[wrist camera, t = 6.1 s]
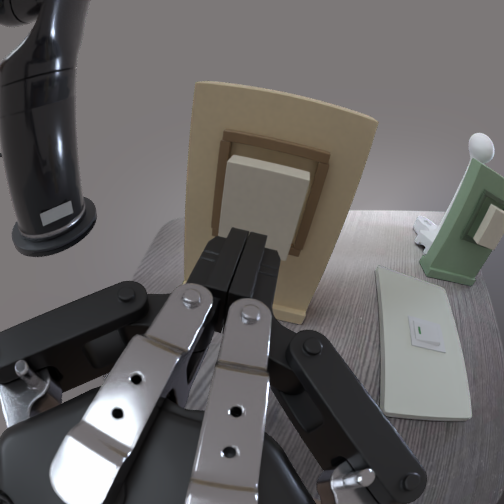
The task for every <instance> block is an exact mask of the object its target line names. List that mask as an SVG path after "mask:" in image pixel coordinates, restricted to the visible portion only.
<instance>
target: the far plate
mask: <svg viewBox="0 0 504 504" xmlns="http://www.w3.org/2000/svg"><path fill="white" fill-rule="evenodd" d="M491 204H492V205H494V206H496V207H498V208H499V209H501V210H503V211H504V177H502V176H501V175H499V174H498V173H496V172H495V171H493V170H492V169H490V168H489V167H487V166H486V165H484V164H483V163H481V162H479V161H478V160H476V159H474V158H472V160H471V163H470V165H469V168H468V170H467V173H466V175H465V178H464V180H463V182H462V185H461V187H460V189H459V192H458V194H457V196H456V198H455V200H454V202H453V205H452V207H451V209H450V211H449V213H448V215H447V217H446V219H445V221H444V223H443V225H442V227H441V229H440V230H439V232H438V234H437V236H436V238H435V240H434V241H433V243H432V245H431V247H430V249H429V250H428V252H427V254H426V255H423V256H422V258H421V259H420V261H419V262H420V264H421V266H422V268H423V270H424V272H425V274H426V276H427V277H432V278H437V279H441V280H446V281H451V282H455V283H460V284H464V285H469V286H472V285H473V284H474V282H475V281H476V280H475V276H476V275H477V273H478V272H479V270H480V269H481V267H482V266H483V264H484V263H485V261H486V260H487V258H488V256H489V255H490V253H491V252H492V249H489V248H487V247H484V246H481V245H479V244H477V243H476V242H475V240H474V239H473V237H474V236H475V234H476V232H477V230H478V228H479V226H480V225H481V223H482V221H483V219H484V217H485V215H486V213H487V211H488V209H489V207H490V205H491Z"/></svg>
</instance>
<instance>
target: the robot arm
mask: <svg viewBox="0 0 504 504" xmlns="http://www.w3.org/2000/svg"><path fill="white" fill-rule="evenodd" d="M90 1H91V0H0V24H1V25H3V26H7V27H19V26H23V25H26V24H29V23H32V22H35V21H36V23H35V25H34V27H33V29H32V30H31V31H30V33H29V34H28V35H27V36H26V38H25V39H24V40H23V41H22V42H21V43H20V44H19V45H18V46H17V47H16V48H15V49H14V50H13V51H12V52H11V53H10V54H8V55H7V56H6V57H5V58H4V59H3V60H2V61H1V63H0V144H1V152H2V153H0V157H2V158H3V164H4V169H5V174H6V179H7V184H8V188H9V193H10V196H11V201H12V205H13V208H14V212H15V215H16V219H17V222H18V228H19V231H20V234H21V236H22V237H23V238H24V239H25V240H27V241H31V242H44V241H49V240H52V239H55V238H58V237H60V236H62V235H64V234H66V233H68V232H70V231H71V230H73V229H74V228H75V227H76V226H77V225H79V223H80V222H81V221H82V220H83V218H84V217H85V214H86V207H85V201H84V199H83V193H82V186H81V178H80V168H79V159H78V148H77V132H76V67H77V58H78V53H79V49H80V46H81V43H82V38H83V33H84V27H85V22H86V16H87V12H88V8H89V5H90ZM266 241H267V235H263V234H259V233H255V232H250V234H249V231H247V230H243V229H238V228H234V227H232V228H231V230H230V232H229V234H228V236H227V238H224V237H220V236H216V237H214V238H213V239H211V240H210V241H208V243H207V245H206V247H205V248H204V251H203V252H202V254H201V256H200V258H199V259H198V261H197V263H196V265H195V267H194V269H193V271H192V272H191V274H190V276H189V278H188V280H187V282H186V283H185V284H183V285H180V286H178V287H177V288H176V289H174V291H173V292H172V293H170V294H147V292H146V289H145V288H144V287H143V286H142V285H141V284H139V283H137V282H134V281H124V282H121V283H118V284H115V285H113V286H110V287H108V288H105V289H103V290H100V291H98V292H95V293H93V294H91V295H88V296H85V297H83V298H81V299H78V300H75V301H73V302H71V303H68V304H66V305H63V306H61V307H59V308H56V309H54V310H51V311H49V312H46V313H44V314H42V315H39V316H37V317H35V318H32V319H30V320H28V321H25V322H23V323H20V324H18V325H16V326H14V327H11V328H9V329H7V330H4V331H2V332H0V402H1V407H2V410H3V414H4V418H5V421H6V424H7V429H6V430H5V431H4V432H3V433H2V435H1V437H0V504H316V503H315V501H314V500H313V498H312V497H311V495H310V493H309V492H308V490H307V489H306V487H305V486H304V484H303V482H302V481H301V479H300V477H299V476H298V474H297V472H296V471H295V469H294V467H293V466H292V464H291V462H290V461H289V459H288V457H287V456H286V454H285V452H284V451H283V449H282V448H281V447H280V445H279V444H278V443H277V442H276V441H275V440H274V439H273V438H272V437H271V436H269V435H268V434H267V433H265V432H264V430H265V421H266V412H267V402H268V392H269V385H270V386H271V389H272V391H273V393H274V395H275V396H276V398H277V400H278V401H279V403H280V404H281V406H282V408H283V409H284V411H285V413H286V414H287V416H288V417H289V419H290V420H291V422H292V424H293V425H294V427H295V428H296V430H297V431H298V433H299V435H300V436H301V438H302V439H303V441H304V442H305V444H306V445H307V447H308V448H309V450H310V451H311V453H312V454H313V456H314V457H315V459H316V460H317V462H318V463H319V465H320V466H321V468H322V469H323V470H324V471H323V472H322V473H321V474H320V476H319V478H318V480H317V491H318V493H319V495H320V498H321V504H407V503H411V502H413V501H415V500H416V499H417V498H419V497H420V495H421V494H422V493H423V491H424V489H425V487H426V483H427V475H426V472H425V470H424V468H423V467H422V465H421V464H420V462H419V461H418V460H417V458H416V457H415V456H414V454H413V453H412V451H411V450H410V449H409V447H408V446H407V445H406V443H405V442H404V441H403V439H402V438H401V437H400V435H399V434H398V432H397V431H396V430H395V428H394V427H393V426H392V424H391V423H390V422H389V420H388V419H387V418H386V416H385V415H384V414H383V412H382V411H381V410H380V408H379V407H378V405H377V404H376V403H375V401H374V400H373V399H372V397H371V396H370V395H369V393H368V392H367V391H366V389H365V388H364V387H363V385H362V384H361V383H360V381H359V380H358V379H357V377H356V376H355V375H354V373H353V372H352V371H351V369H350V368H349V367H348V365H347V364H346V363H345V361H344V360H343V359H342V357H341V356H340V355H339V353H338V352H337V351H336V349H335V348H334V347H333V345H332V344H331V343H330V341H329V340H328V339H327V338H326V337H325V336H324V335H322V334H321V333H319V332H317V331H313V330H303V331H300V332H298V333H295V332H293V331H291V330H289V329H287V328H286V327H284V326H283V325H281V324H280V323H279V322H278V321H277V319H276V318H275V316H274V314H273V309H272V307H273V301H274V295H275V290H276V284H277V279H278V273H279V267H280V262H281V259H280V256H279V254H278V251H277V250H273V249H269V248H265V245H266ZM223 325H224V327H223ZM222 328H223V337H222V342H221V346H220V351H219V355H218V359H217V362H216V365H215V369H214V373H213V377H212V382H211V386H210V391H209V395H208V400H207V404H206V409H205V411H199V410H187V409H184V408H185V406H186V403H187V400H188V397H189V392H190V389H191V386H192V384H193V382H194V380H195V377H196V375H197V373H198V371H199V369H200V366H201V364H202V362H203V360H204V358H205V355H206V353H207V351H208V349H209V344H210V342H211V340H212V337H213V334H214V331H215V332H219V333H221V331H222ZM109 372H110V373H109ZM106 373H109V375H108V376H107V378H106V380H105V381H104V383H103V384H102V386H100V387H97V388H94V389H91V390H89V391H87V392H85V393H83V394H81V395H79V396H77V397H75V398H73V399H71V400H68V401H66V402H64V403H62V399H61V398H62V393H63V392H65V391H68V390H70V389H72V388H75V387H77V386H79V385H82V384H84V383H86V382H88V381H90V380H93V379H95V378H97V377H100V376H102V375H104V374H106ZM61 403H62V404H61Z"/></svg>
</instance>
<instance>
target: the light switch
mask: <svg viewBox="0 0 504 504" xmlns="http://www.w3.org/2000/svg"><path fill="white" fill-rule="evenodd" d="M375 274H376V284H377V295H378V307H379V323H380V350H381V382H380V410H381V411H382V412H383V414H384V415H385V416H388V417H397V418H407V419H419V420H435V421H466V420H468V419H469V418H471V417H472V410H471V401H470V393H469V386H468V380H467V374H466V368H465V363H464V358H463V353H462V349H461V344H460V340H459V336H458V332H457V328H456V325H455V321H454V317H453V314H452V311H451V307H450V304H449V301H448V298H447V295H446V292H445V289H444V288H443V287H440V286H437V285H435V284H432V283H429V282H426V281H423V280H420V279H418V278H415V277H412V276H409V275H406V274H403V273H400V272H397V271H395V270H392V269H389V268H386V267H383V266H380V265H378V267H377V268H376V270H375Z"/></svg>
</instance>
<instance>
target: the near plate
mask: <svg viewBox="0 0 504 504" xmlns="http://www.w3.org/2000/svg"><path fill="white" fill-rule="evenodd" d="M377 126H378V121H377V120H375V119H374V118H372V117H370V116H368V115H365V114H362V113H359V112H356V111H353V110H350V109H347V108H344V107H340V106H337V105H333V104H330V103H326V102H323V101H319V100H316V99H311V98H308V97H303V96H299V95H295V94H290V93H285V92H281V91H276V90H271V89H265V88H259V87H253V86H247V85H240V84H232V83H223V82H215V81H201V82H196V83H195V91H194V100H193V108H192V117H191V128H190V140H189V152H188V166H187V184H186V204H185V243H184V282H183V284H185V283H186V282H187V280H188V278H189V276H190V274H191V272H192V271H193V269H194V267H195V265H196V263H197V261H198V259H199V258H200V256H201V254H202V252H203V251H204V248H205V247H206V245H207V243H208V241H210V240H211V239H213V238H214V237H216V236H218V233H219V223H220V215H221V206H222V198H223V190H224V182H225V174H226V166H227V161H228V160H229V159H230V158H231V157H232V156H233V155H238V156H243V157H248V158H253V159H257V160H262V161H266V162H271V163H275V164H279V165H284V166H288V167H292V168H296V169H300V170H304V171H308V172H310V182H309V186H308V189H307V193H306V196H305V200H304V203H303V207H302V210H301V213H300V217H299V220H298V224H297V227H296V230H295V234H294V237H293V240H292V243H291V247H290V250H289V253H288V256H287V260H286V261H283V260H281V262H280V267H279V273H278V279H277V284H276V290H275V295H274V301H273V307H272V309H273V314H274V316H275V318H276V319H278V320H282V321H286V322H291V323H295V324H300V325H302V323H303V321H304V319H305V317H306V310H307V308H308V306H309V304H310V302H311V300H312V297H313V295H314V293H315V291H316V289H317V286H318V284H319V282H320V280H321V277H322V275H323V273H324V271H325V268H326V266H327V264H328V261H329V259H330V257H331V254H332V252H333V249H334V247H335V244H336V242H337V240H338V237H339V235H340V232H341V230H342V227H343V225H344V222H345V219H346V217H347V214H348V212H349V209H350V206H351V204H352V201H353V198H354V196H355V193H356V190H357V187H358V184H359V182H360V179H361V175H362V173H363V170H364V167H365V164H366V161H367V158H368V155H369V152H370V149H371V146H372V143H373V140H374V136H375V133H376V130H377ZM183 284H182V285H183Z"/></svg>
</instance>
